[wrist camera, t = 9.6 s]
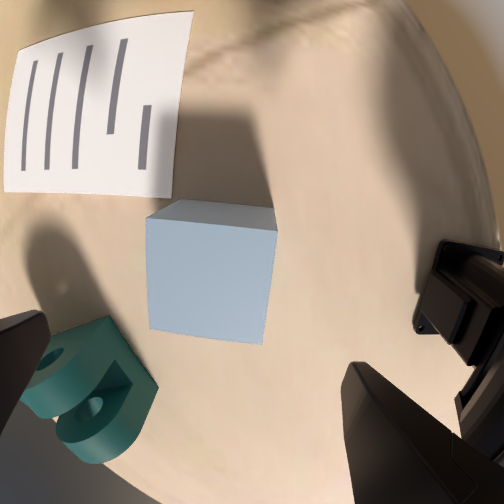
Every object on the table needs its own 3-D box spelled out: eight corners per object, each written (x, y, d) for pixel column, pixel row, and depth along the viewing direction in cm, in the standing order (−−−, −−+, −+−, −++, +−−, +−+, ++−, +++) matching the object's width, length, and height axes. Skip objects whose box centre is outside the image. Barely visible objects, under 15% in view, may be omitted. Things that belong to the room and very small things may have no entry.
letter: (194, 12, 12) (193, 11, 12) (171, 198, 15) (170, 198, 15) (19, 50, 12) (18, 50, 12) (5, 191, 16) (4, 192, 15)
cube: (273, 207, 15) (277, 231, 11) (263, 293, 17) (261, 344, 12) (180, 198, 16) (145, 217, 11) (178, 283, 17) (149, 328, 12)
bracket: (110, 313, 18) (49, 387, 11) (159, 385, 20) (126, 466, 13) (3, 352, 21) (-37, 393, 14) (39, 400, 23) (6, 446, 15)
